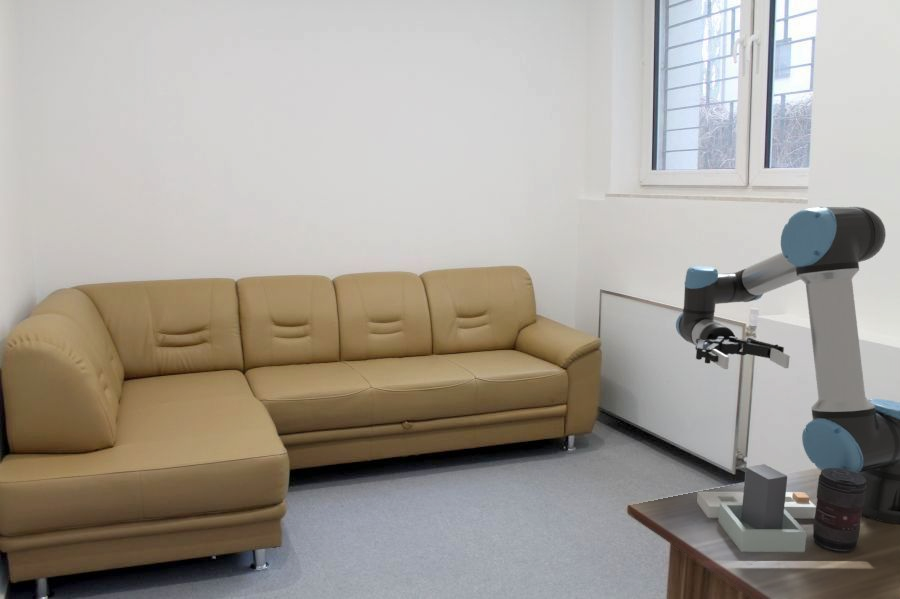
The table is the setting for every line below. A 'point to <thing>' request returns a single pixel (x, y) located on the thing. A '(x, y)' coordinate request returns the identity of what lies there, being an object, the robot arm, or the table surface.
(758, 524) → the tall grey pillar
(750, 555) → the table surface
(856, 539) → the camera lens
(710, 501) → the strip
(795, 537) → the bin
